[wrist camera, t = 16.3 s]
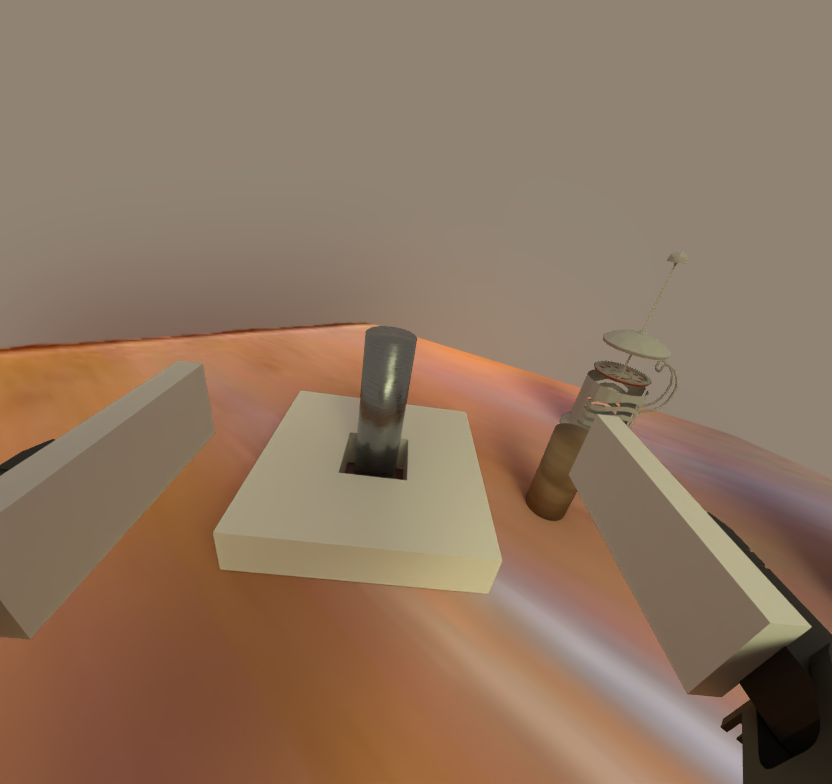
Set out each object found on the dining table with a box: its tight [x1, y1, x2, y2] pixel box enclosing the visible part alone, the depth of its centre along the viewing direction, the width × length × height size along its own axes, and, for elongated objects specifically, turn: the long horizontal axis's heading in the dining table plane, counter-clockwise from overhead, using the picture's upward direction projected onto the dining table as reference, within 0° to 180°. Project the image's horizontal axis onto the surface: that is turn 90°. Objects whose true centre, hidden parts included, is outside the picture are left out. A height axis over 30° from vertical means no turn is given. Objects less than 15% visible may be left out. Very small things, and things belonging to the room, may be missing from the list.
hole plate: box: [213, 391, 502, 594], centre depth 33 cm, size 20×20×4 cm
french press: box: [560, 252, 687, 430], centre depth 45 cm, size 10×12×25 cm
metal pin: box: [354, 326, 417, 479], centre depth 31 cm, size 4×4×16 cm
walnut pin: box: [526, 423, 589, 521], centre depth 33 cm, size 4×4×9 cm
